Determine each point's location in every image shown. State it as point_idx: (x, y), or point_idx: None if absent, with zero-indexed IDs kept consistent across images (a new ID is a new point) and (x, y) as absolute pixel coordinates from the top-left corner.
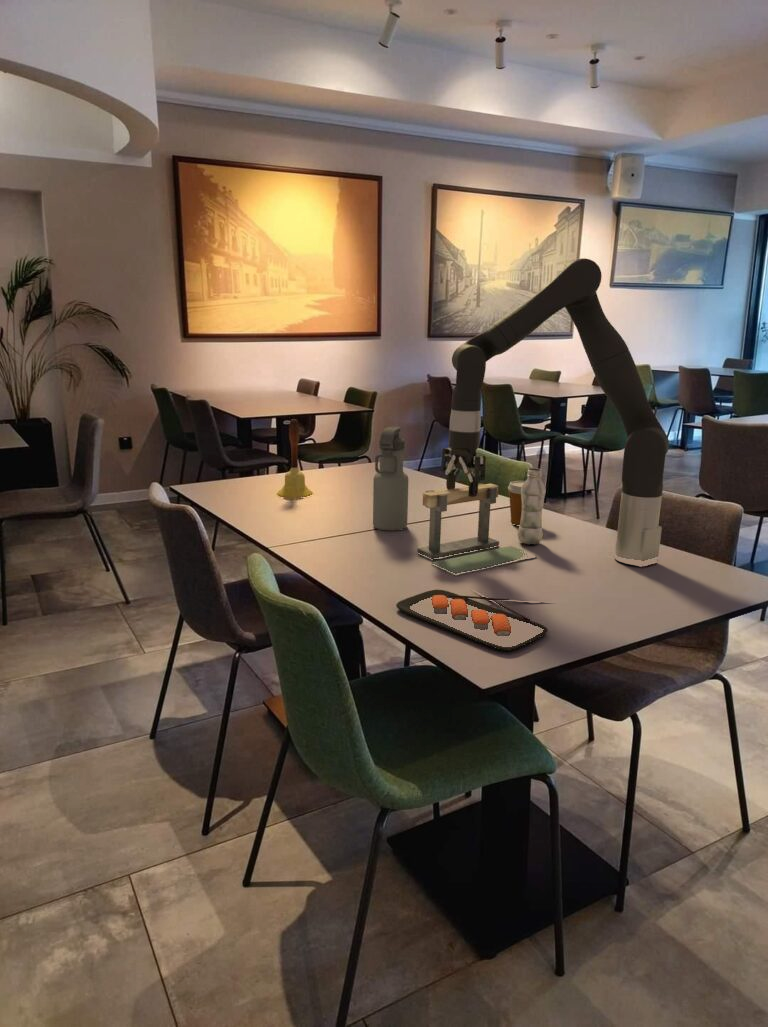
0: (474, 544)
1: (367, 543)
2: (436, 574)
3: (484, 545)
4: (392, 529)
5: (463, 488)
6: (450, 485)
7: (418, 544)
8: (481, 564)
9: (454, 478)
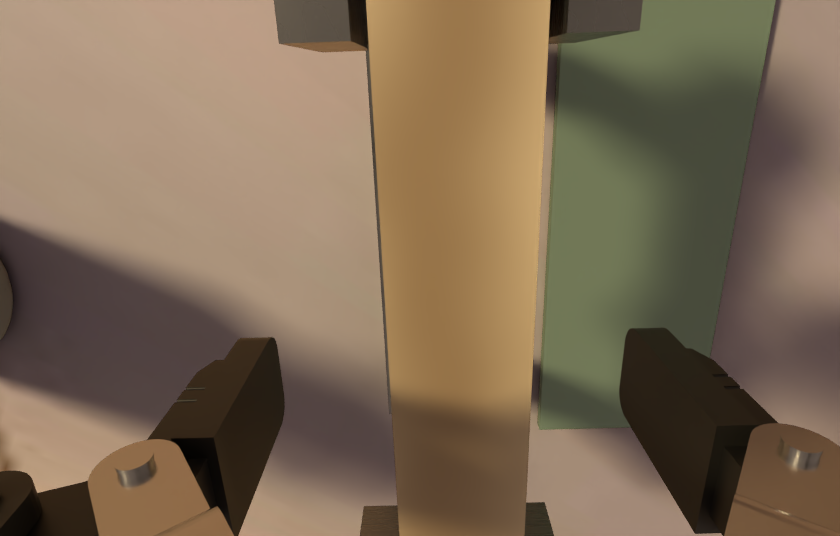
0: None
1: None
2: (632, 462)
3: None
4: (10, 316)
5: (433, 354)
6: (271, 420)
7: (266, 319)
8: (690, 273)
9: (236, 424)
